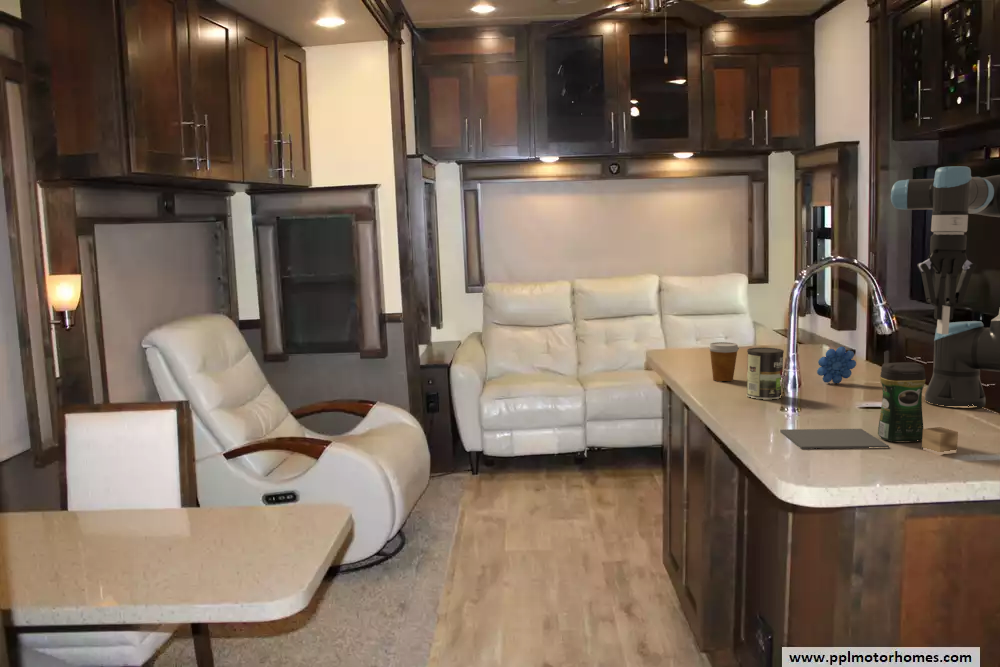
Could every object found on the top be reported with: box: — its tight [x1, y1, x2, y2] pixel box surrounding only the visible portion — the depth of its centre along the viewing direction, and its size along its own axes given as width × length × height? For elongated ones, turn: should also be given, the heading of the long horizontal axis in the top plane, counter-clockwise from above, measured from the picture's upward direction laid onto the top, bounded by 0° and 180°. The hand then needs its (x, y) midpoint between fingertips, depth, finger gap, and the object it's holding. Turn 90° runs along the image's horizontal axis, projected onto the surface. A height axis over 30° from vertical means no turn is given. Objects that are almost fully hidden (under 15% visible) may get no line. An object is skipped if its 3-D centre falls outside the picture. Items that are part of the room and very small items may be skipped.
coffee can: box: [746, 347, 784, 401], centre depth 254 cm, size 10×10×14 cm
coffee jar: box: [877, 362, 927, 442], centre depth 203 cm, size 10×8×19 cm
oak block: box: [921, 426, 959, 452], centre depth 193 cm, size 5×5×5 cm
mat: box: [780, 428, 890, 450], centre depth 205 cm, size 20×16×1 cm
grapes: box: [816, 346, 857, 384], centre depth 272 cm, size 12×7×12 cm, turn 78°
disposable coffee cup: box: [708, 341, 739, 382], centre depth 280 cm, size 10×10×12 cm
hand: (942, 333), depth 203 cm, fingers closed
